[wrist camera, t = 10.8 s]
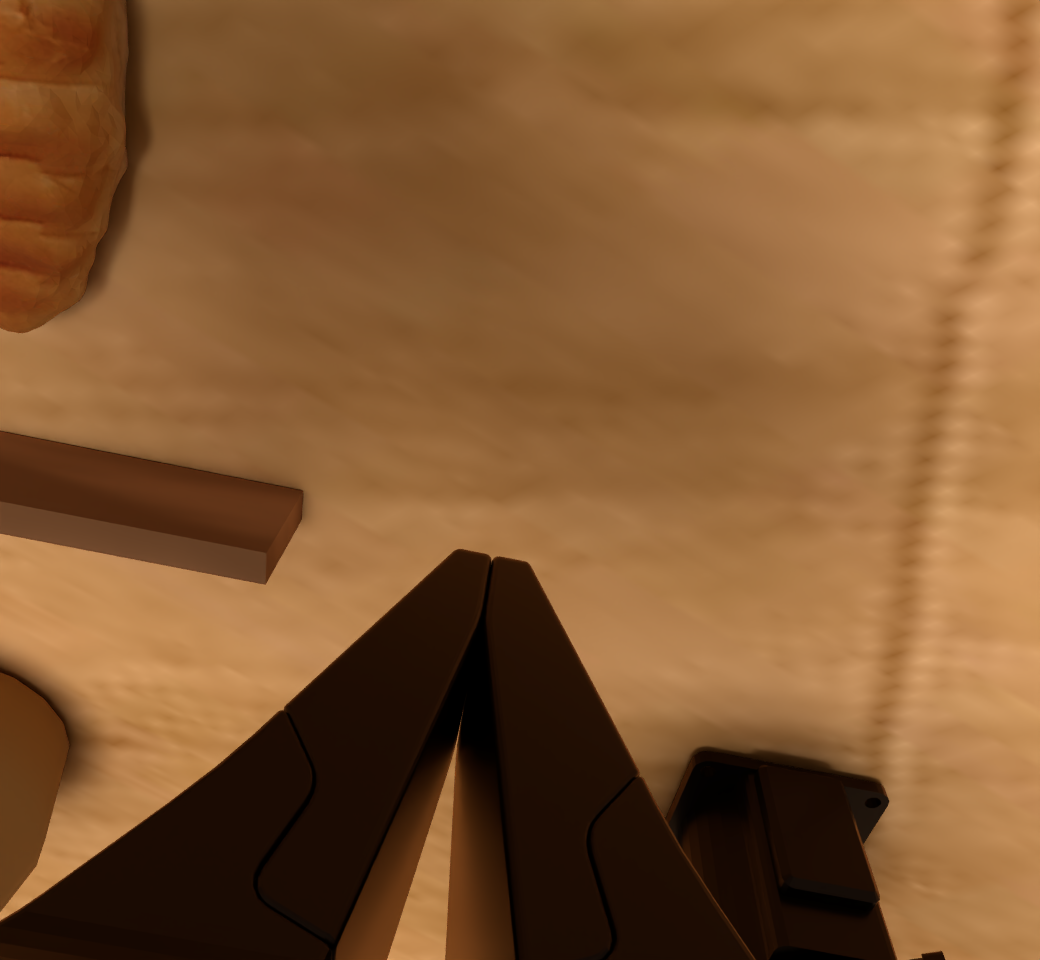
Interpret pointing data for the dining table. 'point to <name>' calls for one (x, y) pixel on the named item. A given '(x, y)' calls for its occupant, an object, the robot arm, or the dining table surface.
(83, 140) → the pastry
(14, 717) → the squeeze bottle
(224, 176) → the dining table surface
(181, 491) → the box
